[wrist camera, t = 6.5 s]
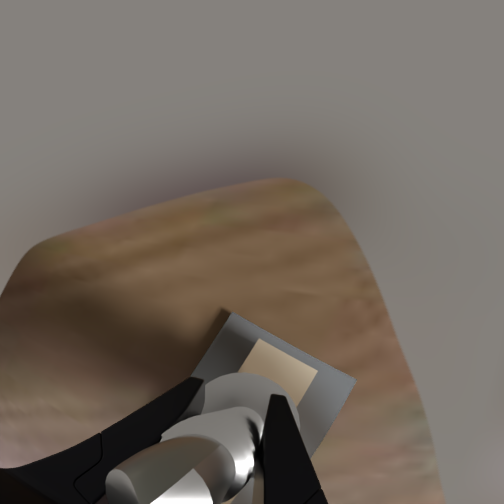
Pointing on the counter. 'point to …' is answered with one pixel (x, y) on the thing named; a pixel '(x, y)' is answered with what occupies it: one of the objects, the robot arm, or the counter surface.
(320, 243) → the counter surface
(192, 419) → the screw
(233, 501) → the stand
